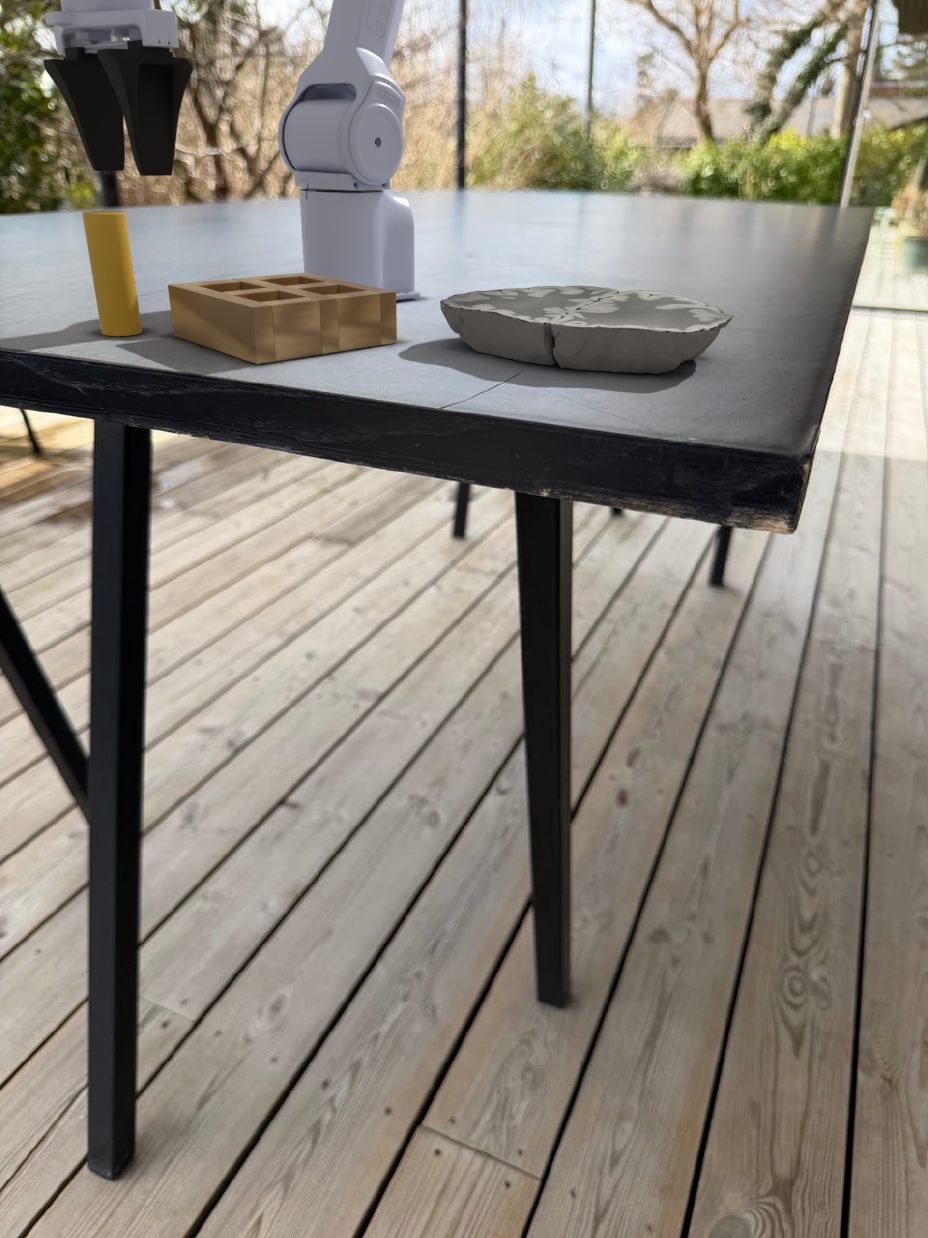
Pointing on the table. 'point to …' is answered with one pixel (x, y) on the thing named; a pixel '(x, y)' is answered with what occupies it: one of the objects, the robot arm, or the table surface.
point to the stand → (283, 316)
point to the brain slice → (586, 327)
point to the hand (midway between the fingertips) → (131, 173)
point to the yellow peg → (112, 272)
